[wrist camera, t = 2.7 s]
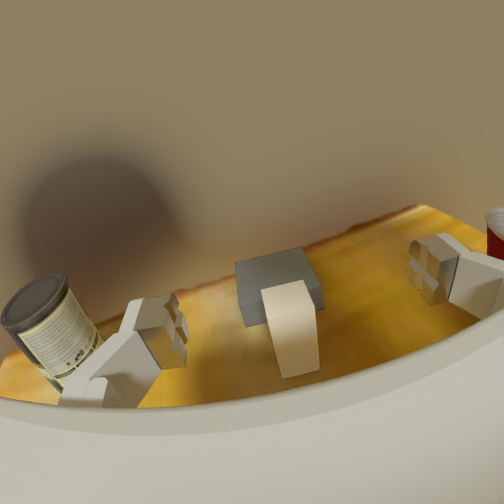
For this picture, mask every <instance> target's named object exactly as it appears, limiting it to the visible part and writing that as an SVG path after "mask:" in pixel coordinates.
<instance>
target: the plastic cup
mask: <svg viewBox="0 0 504 504" xmlns="http://www.w3.org/2000/svg"><path fill="white" fill-rule="evenodd" d="M485 220H486V223H487V234H488V235H487V255H488V256H491V257H494V258H497V259H500V260H503V261H504V208H493V209H490V210H488V211H487V212H486V214H485Z"/></svg>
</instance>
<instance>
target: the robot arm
mask: <svg viewBox="0 0 504 504" xmlns="http://www.w3.org/2000/svg"><path fill="white" fill-rule="evenodd" d="M409 252H410V254H411V256H412V257H411V259H410V261H409V262H408V268H407V272H408V277H409V280H410V282H411V284H412V285H413V286H414V287H415V288H417V289H419V290H421V296H422V297H423V298H424V299H425V300H426V302H427V303H428V304H429V305H430V306H433V305H436V304H439V303H442V302H444V301H447V300H448V301H449V302H451V303H452V304H454V305H456V306H458V307H460V308H462V309H463V310H465V311H467V312H469V313H471V314H472V315H474V316H476V317H478V318H479V319H481V321H479V322H477V323H475V324H473V325H471V326H469V327H467V328H465V329H463V330H461V331H459V332H457V333H455V334H453V335H451V336H449V337H446V338H444V339H442V340H440V341H437V342H435V343H433V344H431V345H428V346H426V347H424V348H421V349H419V350H416V351H414V352H411V353H409V354H406V355H404V356H401V357H398V358H396V359H393V360H390V361H387V362H385V363H382V364H379V365H376V366H373V367H370V368H367V369H364V370H361V371H357V372H354V373H351V374H348V375H344V376H341V377H337V378H334V379H330V380H327V381H323V382H319V383H315V384H311V385H307V386H303V387H299V388H294V389H290V390H285V391H280V392H275V393H270V394H265V395H260V396H254V397H248V398H242V399H235V400H229V401H221V402H213V403H205V404H195V405H184V406H171V407H152V408H137V406H138V405H139V403H140V402H141V401H142V399H143V398H144V396H145V395H146V393H147V392H148V390H149V389H150V388H151V386H152V385H153V383H154V382H155V380H156V379H157V377H158V376H159V375H160V373H161V372H162V371H161V370H165V369H172V368H179V367H186V359H187V349H186V347H185V344H186V343H187V341H188V335H189V334H188V326H187V322H186V319H185V316H184V314H183V313H182V312H180V311H179V310H178V306H179V302H178V300H177V298H176V296H175V295H174V294H173V293H171V294H165V295H158V296H152V297H146V298H140V299H135V300H131V301H130V302H129V304H128V307H127V309H126V312H125V315H124V318H123V320H122V323H121V326H120V329H119V332H118V333H114V334H113V335H112V336H111V337H110V338H109V339H108V340H107V341H105V342H104V343H103V344H102V345H101V346H100V347H99V348H98V349H97V350H96V351H95V352H94V353H92V354H91V355H90V356H89V357H88V358H87V359H86V360H85V361H84V362H83V363H82V364H81V365H80V366H79V367H78V368H77V369H75V370H74V371H73V372H72V373H71V374H70V375H69V376H68V378H67V380H66V383H65V386H64V388H63V391H62V394H61V397H60V400H59V403H58V405H52V404H43V403H35V402H28V401H22V400H16V399H10V398H5V397H0V504H504V261H503V260H500V259H497V258H494V257H491V256H488V255H485V254H481V253H478V252H475V251H473V252H471V251H470V250H468V249H467V248H466V247H465V246H463V245H462V244H461V243H460V242H458V241H457V240H456V239H454V238H453V237H452V236H450V235H449V234H448V233H445V232H442V233H439V234H436V235H433V236H430V237H426V238H423V239H419V240H415V241H412V243H411V245H410V250H409Z"/></svg>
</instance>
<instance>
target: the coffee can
mask: <svg viewBox="0 0 504 504" xmlns="http://www.w3.org/2000/svg"><path fill="white" fill-rule="evenodd" d="M0 321H1V325H2V326H3V327H4V329H5V330H7V331H8V333H9V334H10V336H11V337H12V338H13V340H14V341H15V342H16V343H17V344H18V346H19V347H20V349H21V350H22V351H23V352H24V353H25V355H26V356H27V357H28V358H29V359H30V361H31V362H32V363H33V364H34V365H35V366H36V368H37V369H38V370H39V371H40V372H41V373H42V374H43V375H44V377H45V378H46V379H47V380H48V381H49V382H50V383H51V384H52V385H53V386H54V387H55V388H56V389H57V390H58V391H59V392H60V393H61V394H62V391H63V388H64V386H65V383H66V380H67V378H68V376H69V375H70V374H71V373H72V372H73V371H74V370H75V369H77V368H78V367H79V366H80V365H81V364H82V363H83V362H84V361H85V360H86V359H87V358H88V357H89V356H90V355H91V354H92V353H94V352H95V351H96V350H97V349H98V348H99V347H100V346H101V345H102V344H103V343H104V342H105V340H104V339H103V337H102V336H101V334H100V333H99V332H98V330H97V329H96V327H95V326H94V324H93V322H92V321H91V319H90V318H89V316H88V315H87V314H86V312H85V310H84V309H83V307H82V305H81V304H80V302H79V300H78V299H77V297H76V295H75V294H74V292H73V290H72V288H71V287H70V285H69V283H68V280H67V277H66V275H65V274H64V273H63V272H60V271H53V272H49V273H46V274H44V275H42V276H39V277H38V278H36V279H34V280H33V281H31V282H29V283H28V284H27V285H25V286H24V287H23V288H22V289H20V290H19V291H18V292H17V293H16V294H15V295H14V296H13V297H12V299H11V300H10V301H9V302H8V303H7V305H6V307H5V308H4V310H3V312H2V315H1V320H0Z"/></svg>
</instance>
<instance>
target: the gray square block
mask: <svg viewBox="0 0 504 504" xmlns="http://www.w3.org/2000/svg"><path fill="white" fill-rule="evenodd" d="M235 268H236V279H237V289H238V300H239V307H240V310H241V313H242V316H243V319H244V322H245V325H246V327H250V326H255V325H259V324H264V323H268V321H267V317H266V312H265V307H264V302H263V298H262V293H261V290H262V289H266V288H270V287H274V286H278V285H283V284H287V283H291V282H295V281H299V280H303V281H304V283H305V285H306V288H307V290H308V292H309V295H310V297H311V299H312V302H313V304H314V306H315V311H316V310H320V309H324V307H323V295H322V285H321V283H320V281H319V280H318V278H317V276H316V274H315V272H314V270H313V268H312V266H311V264H310V262H309V260H308V258H307V256H306V254H305V252H304V251H303V249H302V247H298V248H294V249H290V250H285V251H281V252H278V253H273V254H269V255H265V256H261V257H256V258H252V259H248V260H244V261H240V262H236V263H235Z"/></svg>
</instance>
